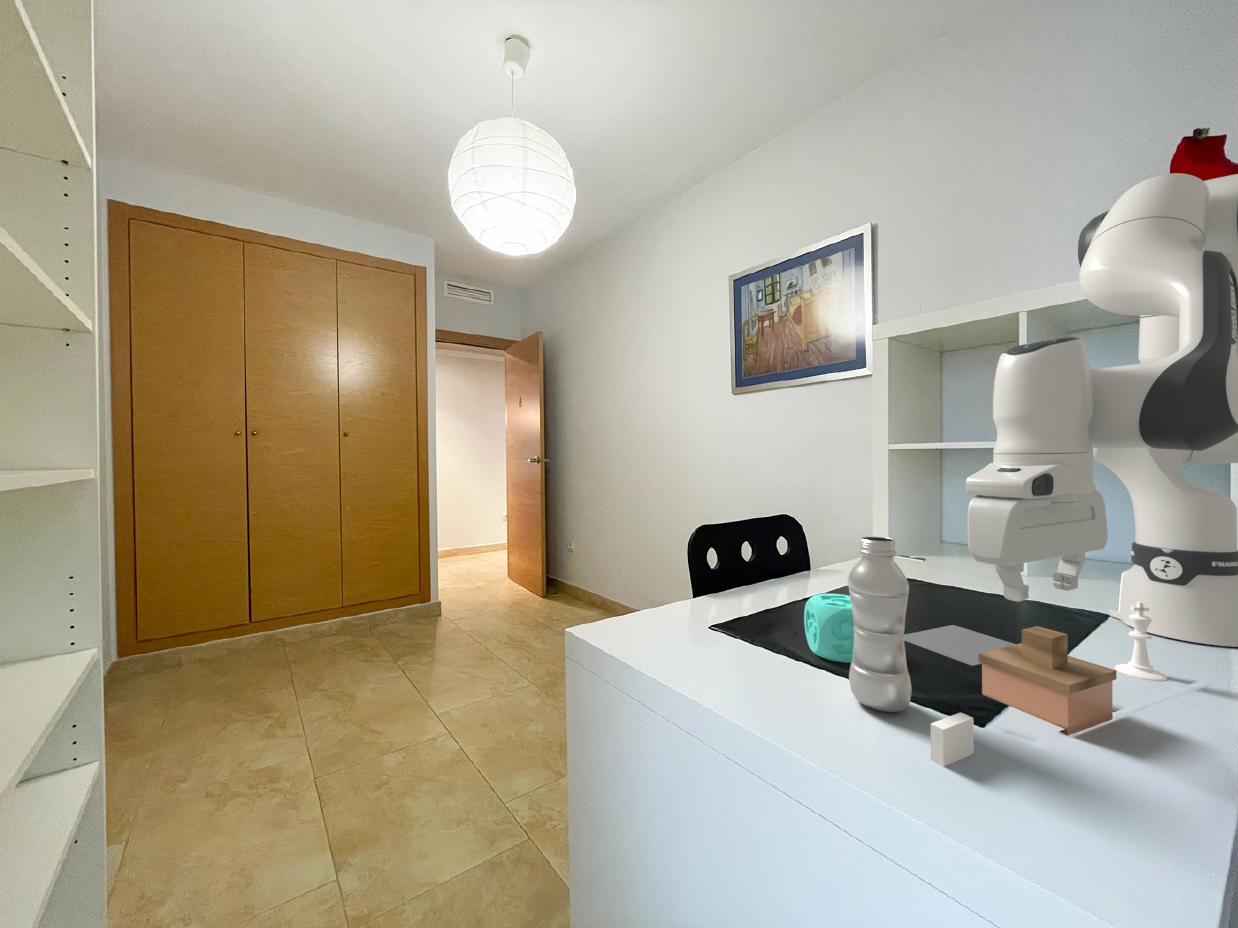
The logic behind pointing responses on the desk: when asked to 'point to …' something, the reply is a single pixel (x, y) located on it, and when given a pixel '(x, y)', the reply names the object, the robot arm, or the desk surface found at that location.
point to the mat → (956, 643)
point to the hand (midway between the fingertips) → (1041, 594)
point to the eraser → (952, 739)
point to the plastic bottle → (879, 628)
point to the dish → (1050, 700)
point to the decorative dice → (830, 626)
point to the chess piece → (1140, 649)
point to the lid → (1047, 662)
